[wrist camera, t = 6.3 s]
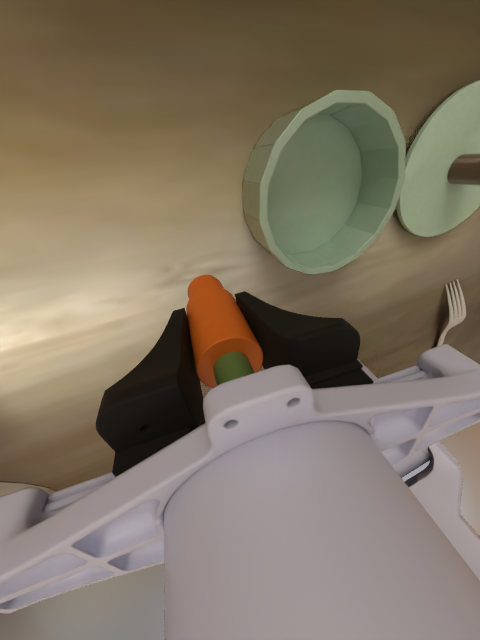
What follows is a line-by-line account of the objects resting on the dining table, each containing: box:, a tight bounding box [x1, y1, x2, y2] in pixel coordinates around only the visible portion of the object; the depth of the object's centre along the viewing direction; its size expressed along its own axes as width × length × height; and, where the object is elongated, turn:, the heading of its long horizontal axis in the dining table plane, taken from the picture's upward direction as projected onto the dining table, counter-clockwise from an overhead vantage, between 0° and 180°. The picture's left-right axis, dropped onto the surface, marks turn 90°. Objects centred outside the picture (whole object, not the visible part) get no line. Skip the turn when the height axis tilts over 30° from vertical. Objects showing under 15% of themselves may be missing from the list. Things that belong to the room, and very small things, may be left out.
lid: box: [396, 80, 480, 237], centre depth 21 cm, size 12×12×4 cm
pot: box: [242, 90, 406, 275], centre depth 19 cm, size 12×12×4 cm
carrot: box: [186, 275, 263, 388], centre depth 13 cm, size 3×3×9 cm
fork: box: [437, 279, 466, 347], centre depth 38 cm, size 3×21×3 cm, turn 19°
